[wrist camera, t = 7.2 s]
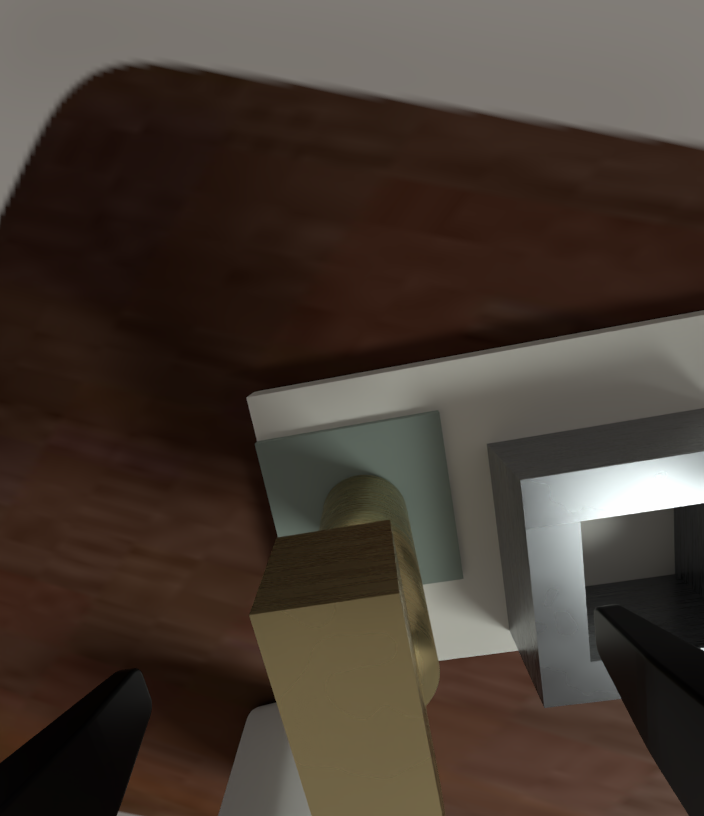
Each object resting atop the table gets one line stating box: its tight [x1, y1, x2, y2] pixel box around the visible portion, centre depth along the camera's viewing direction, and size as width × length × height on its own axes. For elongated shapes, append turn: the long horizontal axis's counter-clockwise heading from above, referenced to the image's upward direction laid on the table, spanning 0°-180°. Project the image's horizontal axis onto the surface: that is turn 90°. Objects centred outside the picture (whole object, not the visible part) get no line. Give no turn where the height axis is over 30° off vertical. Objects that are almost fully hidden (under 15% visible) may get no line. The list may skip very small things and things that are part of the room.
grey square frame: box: [487, 408, 704, 708], centre depth 12 cm, size 7×7×3 cm
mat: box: [255, 410, 464, 585], centre depth 14 cm, size 6×6×1 cm
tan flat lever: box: [249, 475, 445, 816], centre depth 10 cm, size 6×3×8 cm, turn 11°
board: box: [246, 310, 704, 661], centre depth 14 cm, size 16×11×1 cm
